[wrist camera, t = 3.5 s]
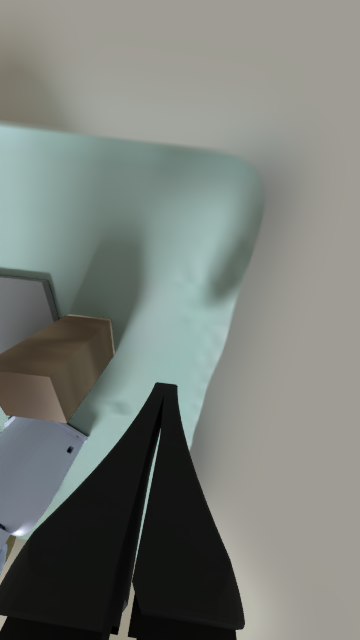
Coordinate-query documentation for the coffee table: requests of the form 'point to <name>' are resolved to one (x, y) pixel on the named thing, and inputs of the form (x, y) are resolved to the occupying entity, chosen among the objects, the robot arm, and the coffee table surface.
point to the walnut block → (55, 368)
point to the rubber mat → (24, 309)
